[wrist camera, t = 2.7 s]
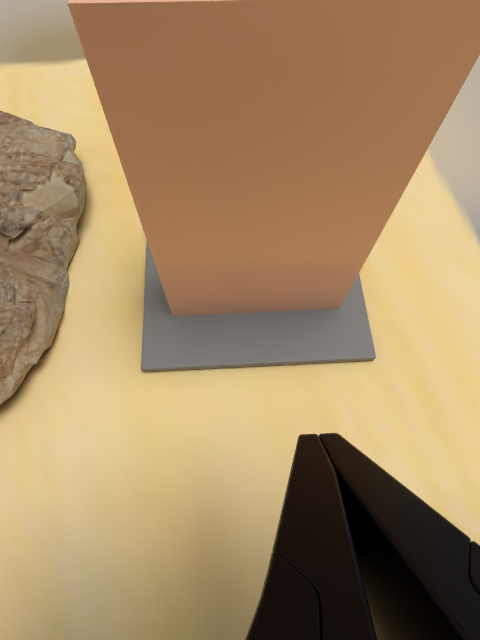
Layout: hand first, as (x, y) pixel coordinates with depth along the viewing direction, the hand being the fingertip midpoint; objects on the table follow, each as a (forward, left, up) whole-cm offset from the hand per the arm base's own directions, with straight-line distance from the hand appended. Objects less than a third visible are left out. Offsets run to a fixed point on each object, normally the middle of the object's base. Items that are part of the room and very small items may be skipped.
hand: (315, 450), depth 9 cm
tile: (+1, +9, -11) cm, 14 cm away
